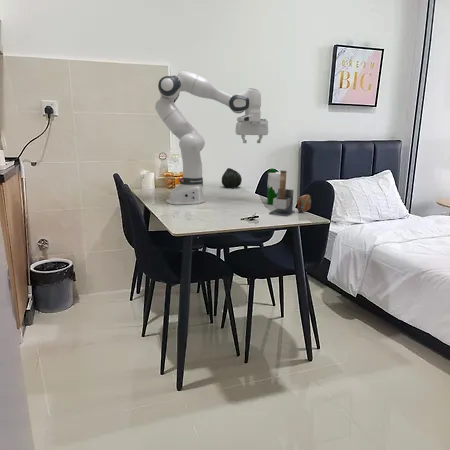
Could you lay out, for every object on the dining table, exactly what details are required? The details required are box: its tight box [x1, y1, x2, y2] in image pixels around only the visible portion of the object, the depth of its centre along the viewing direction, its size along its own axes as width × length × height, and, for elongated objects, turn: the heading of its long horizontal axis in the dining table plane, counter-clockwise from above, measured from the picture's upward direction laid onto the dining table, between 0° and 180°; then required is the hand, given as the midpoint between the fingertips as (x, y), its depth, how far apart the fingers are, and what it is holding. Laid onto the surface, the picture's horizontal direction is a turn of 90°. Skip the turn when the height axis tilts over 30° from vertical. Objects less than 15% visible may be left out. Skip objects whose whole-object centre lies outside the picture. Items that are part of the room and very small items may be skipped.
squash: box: [221, 167, 243, 189], centre depth 296 cm, size 14×15×15 cm
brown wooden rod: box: [279, 170, 288, 199], centre depth 206 cm, size 3×3×18 cm
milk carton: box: [266, 168, 280, 205], centre depth 235 cm, size 9×9×20 cm
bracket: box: [268, 188, 296, 217], centre depth 209 cm, size 12×10×12 cm
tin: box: [296, 194, 312, 213], centre depth 217 cm, size 15×3×8 cm, turn 148°
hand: (251, 143), depth 235 cm, fingers open, 8 cm apart
